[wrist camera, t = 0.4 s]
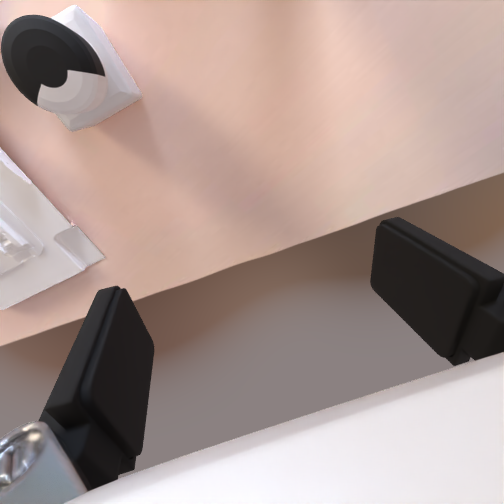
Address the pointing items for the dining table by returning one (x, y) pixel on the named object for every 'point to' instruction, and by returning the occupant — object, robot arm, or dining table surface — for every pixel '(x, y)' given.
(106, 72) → the medicine bottle
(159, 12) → the dining table surface
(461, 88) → the dining table surface
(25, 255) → the tray
